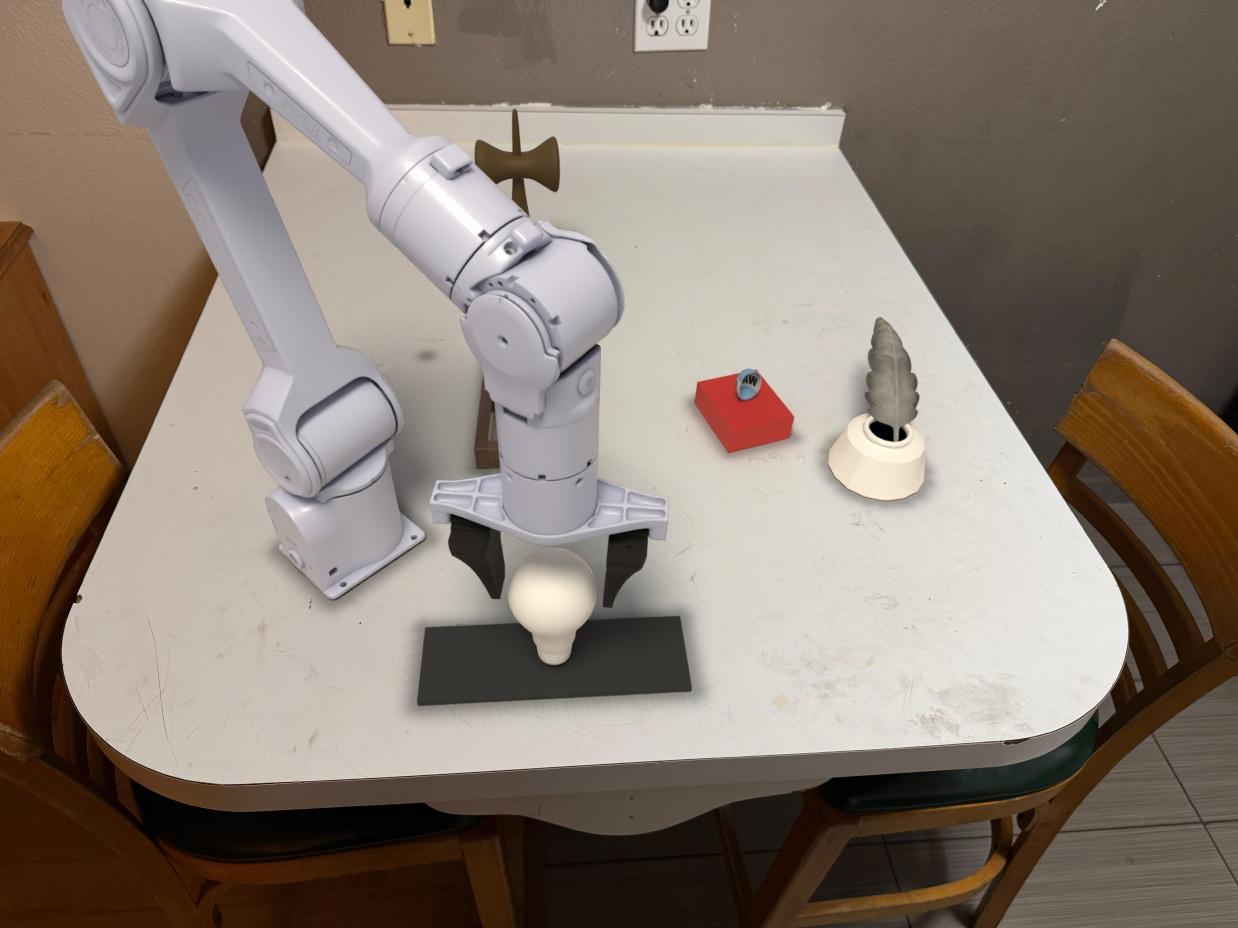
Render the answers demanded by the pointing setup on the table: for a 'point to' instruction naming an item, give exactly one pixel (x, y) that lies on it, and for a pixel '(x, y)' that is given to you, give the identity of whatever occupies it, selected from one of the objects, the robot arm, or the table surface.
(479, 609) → the table surface
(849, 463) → the inkwell
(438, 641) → the mat
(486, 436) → the holder
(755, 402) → the red slab
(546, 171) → the kendama
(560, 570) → the lightbulb
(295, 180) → the table surface
